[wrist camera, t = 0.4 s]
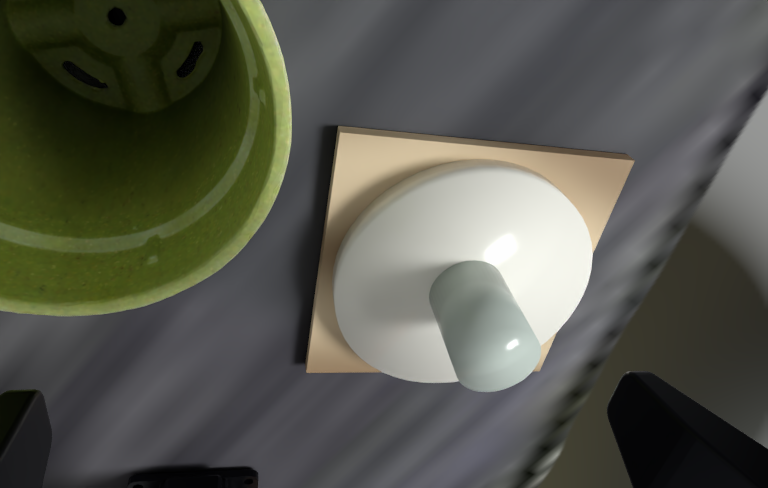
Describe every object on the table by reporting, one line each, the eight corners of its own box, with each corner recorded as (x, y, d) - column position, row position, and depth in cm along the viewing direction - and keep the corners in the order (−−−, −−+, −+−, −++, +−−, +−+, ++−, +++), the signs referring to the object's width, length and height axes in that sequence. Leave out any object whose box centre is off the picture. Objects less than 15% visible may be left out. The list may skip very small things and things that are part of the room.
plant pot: (7, -286, 13) (-280, -440, 6) (337, -29, 18) (386, 52, 11) (-105, 49, 17) (-371, 193, 10) (194, 196, 21) (160, 369, 14)
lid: (533, 363, 29) (579, 451, 25) (317, 364, 26) (328, 462, 22) (618, 170, 23) (698, 242, 19) (351, 146, 20) (374, 223, 16)
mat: (534, 362, 30) (539, 371, 29) (305, 363, 27) (306, 372, 26) (627, 154, 23) (634, 160, 23) (338, 125, 20) (339, 132, 20)
